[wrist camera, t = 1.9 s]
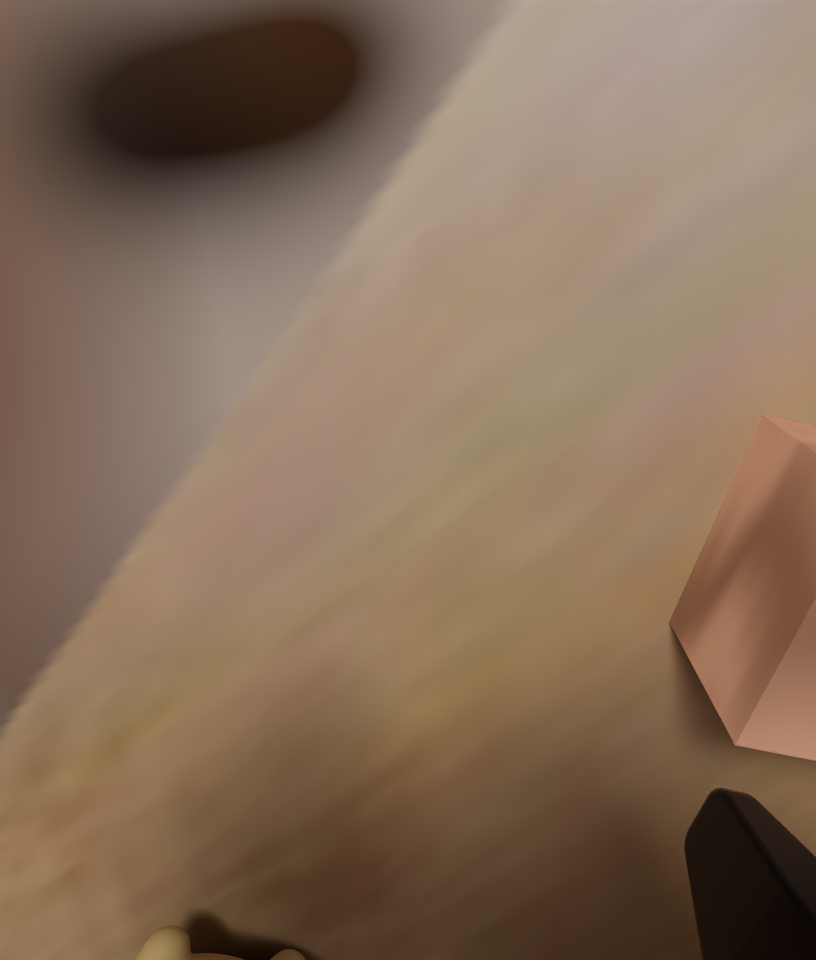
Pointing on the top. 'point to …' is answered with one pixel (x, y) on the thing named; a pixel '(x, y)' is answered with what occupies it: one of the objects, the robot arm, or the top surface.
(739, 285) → the top surface
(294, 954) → the toy pig
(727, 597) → the terracotta block
